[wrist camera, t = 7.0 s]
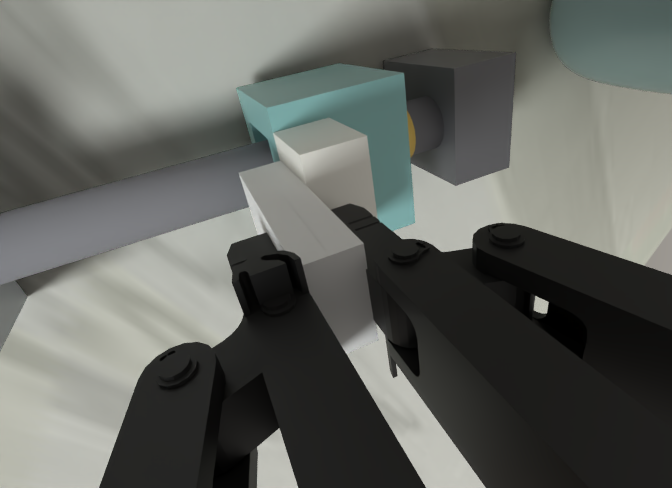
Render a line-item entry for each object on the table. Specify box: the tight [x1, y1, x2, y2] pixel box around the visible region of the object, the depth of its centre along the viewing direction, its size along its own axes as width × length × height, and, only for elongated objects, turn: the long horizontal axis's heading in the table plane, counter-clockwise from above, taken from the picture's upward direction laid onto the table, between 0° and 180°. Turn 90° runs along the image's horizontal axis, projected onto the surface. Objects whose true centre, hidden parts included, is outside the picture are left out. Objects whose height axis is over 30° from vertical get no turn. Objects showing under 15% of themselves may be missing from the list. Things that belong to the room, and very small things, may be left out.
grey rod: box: [0, 96, 444, 285], centre depth 16 cm, size 21×3×3 cm, turn 101°
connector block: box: [383, 49, 516, 186], centre depth 20 cm, size 3×5×6 cm, turn 11°
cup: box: [549, 0, 672, 95], centre depth 20 cm, size 8×8×10 cm
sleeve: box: [236, 63, 415, 231], centre depth 16 cm, size 5×6×9 cm
